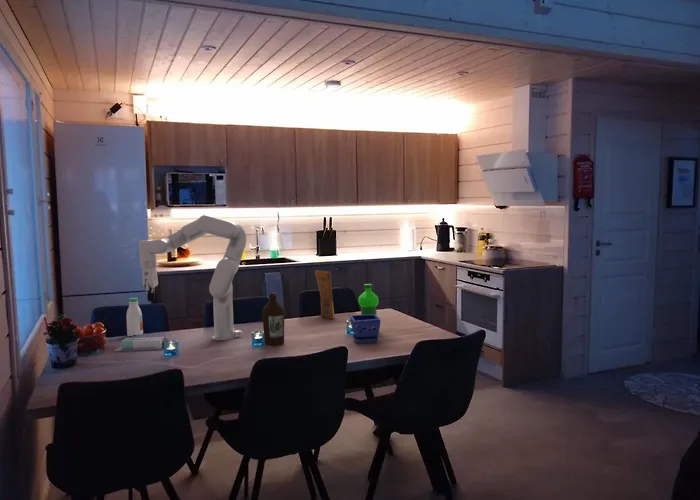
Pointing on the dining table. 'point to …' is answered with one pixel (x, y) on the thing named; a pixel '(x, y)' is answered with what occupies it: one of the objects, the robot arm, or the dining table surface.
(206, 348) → the dining table surface
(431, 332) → the dining table surface
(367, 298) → the plastic bottle
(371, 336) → the flower pot
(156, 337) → the toothpaste tube
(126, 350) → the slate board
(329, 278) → the pancake mix bag
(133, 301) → the milk bottle
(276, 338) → the olive oil
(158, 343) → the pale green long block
